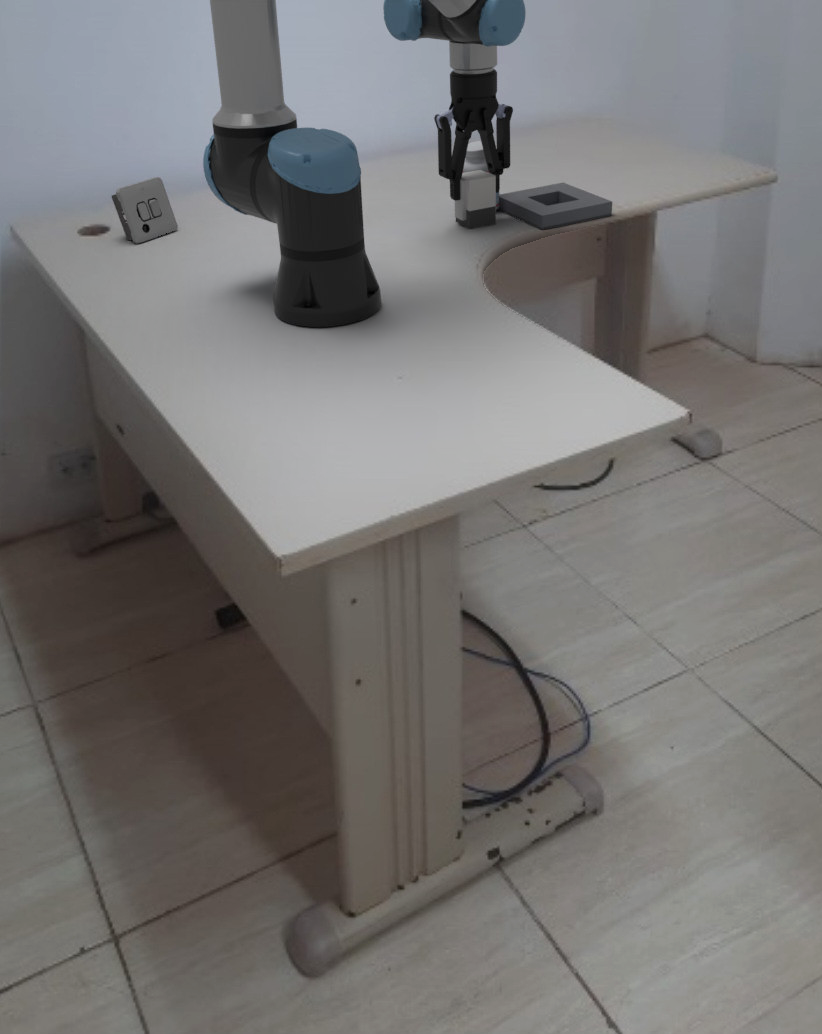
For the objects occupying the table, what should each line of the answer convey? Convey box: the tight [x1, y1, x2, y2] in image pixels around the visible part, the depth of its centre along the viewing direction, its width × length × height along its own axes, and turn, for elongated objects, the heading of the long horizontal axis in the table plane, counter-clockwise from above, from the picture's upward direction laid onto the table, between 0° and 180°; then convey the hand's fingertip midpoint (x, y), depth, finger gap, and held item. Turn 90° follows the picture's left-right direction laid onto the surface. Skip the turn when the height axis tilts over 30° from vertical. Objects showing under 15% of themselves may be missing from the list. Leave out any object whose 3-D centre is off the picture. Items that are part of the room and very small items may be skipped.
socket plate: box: [498, 182, 613, 231], centre depth 183 cm, size 15×14×2 cm
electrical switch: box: [111, 176, 179, 244], centre depth 181 cm, size 9×5×9 cm, turn 141°
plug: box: [455, 170, 497, 230], centre depth 179 cm, size 5×5×8 cm
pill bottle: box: [463, 140, 500, 211], centre depth 184 cm, size 6×6×11 cm
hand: (475, 215), depth 180 cm, fingers closed on plug, 5 cm apart
